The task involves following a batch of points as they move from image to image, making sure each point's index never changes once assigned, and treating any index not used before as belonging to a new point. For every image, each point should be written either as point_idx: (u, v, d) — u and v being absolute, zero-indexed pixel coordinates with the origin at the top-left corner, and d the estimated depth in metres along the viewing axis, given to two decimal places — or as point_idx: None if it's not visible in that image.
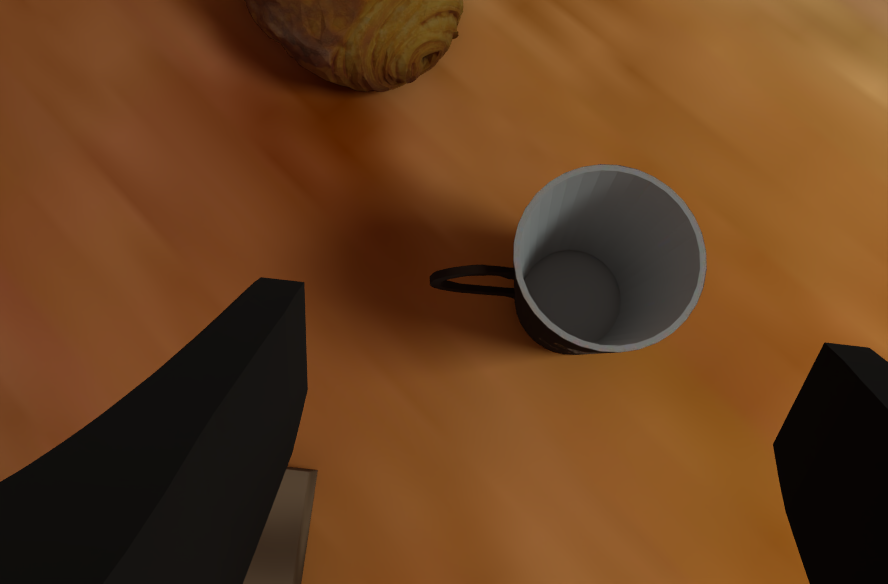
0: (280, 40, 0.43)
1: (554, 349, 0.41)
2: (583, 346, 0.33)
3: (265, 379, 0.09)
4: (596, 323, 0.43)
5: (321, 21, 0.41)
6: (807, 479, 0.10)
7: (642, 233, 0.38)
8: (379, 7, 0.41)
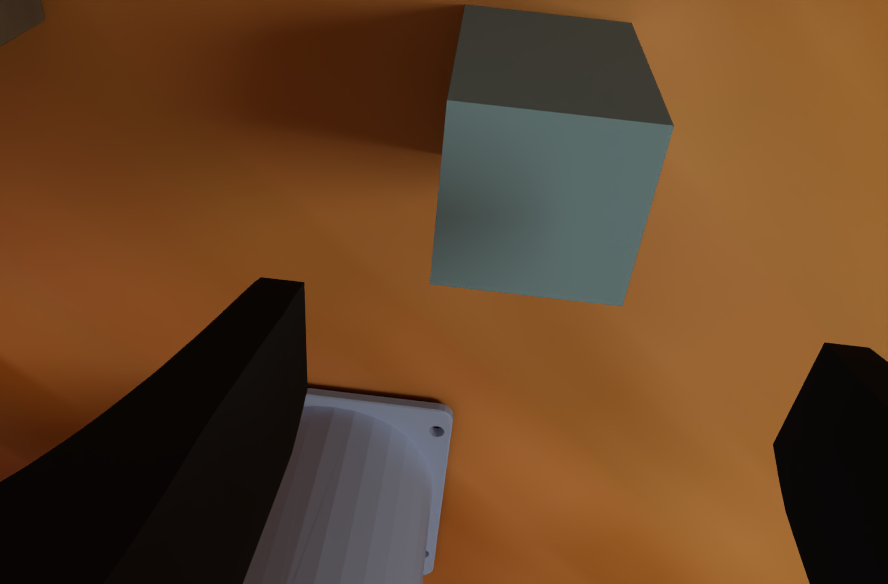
0: None
1: None
2: None
3: (265, 379, 0.09)
4: None
5: None
6: (807, 479, 0.10)
7: None
8: None
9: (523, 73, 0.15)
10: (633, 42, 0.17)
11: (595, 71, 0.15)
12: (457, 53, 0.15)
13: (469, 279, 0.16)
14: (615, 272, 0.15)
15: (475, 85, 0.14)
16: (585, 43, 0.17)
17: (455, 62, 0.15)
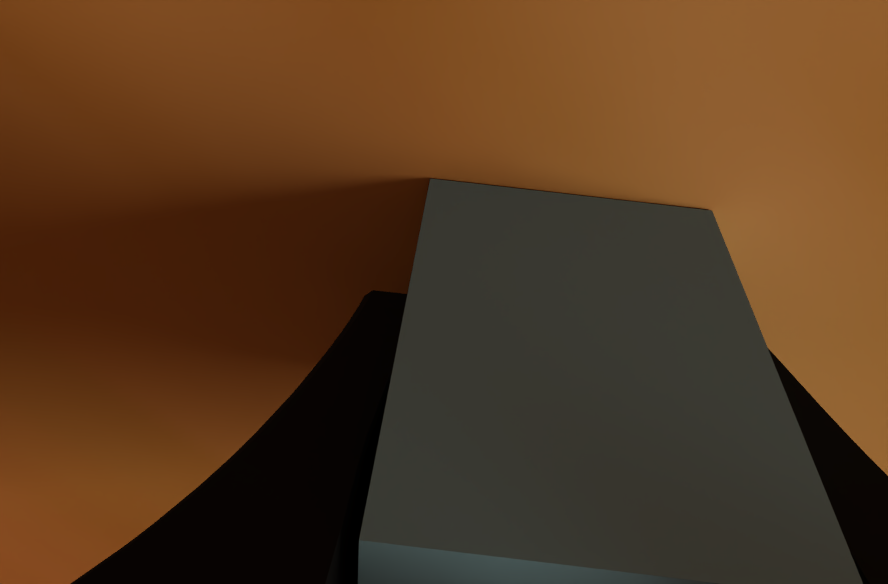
0: None
1: None
2: None
3: None
4: None
5: None
6: None
7: None
8: None
9: (530, 404, 0.07)
10: (724, 270, 0.10)
11: (670, 377, 0.08)
12: (401, 338, 0.08)
13: None
14: None
15: (427, 465, 0.07)
16: (641, 280, 0.09)
17: (394, 372, 0.08)
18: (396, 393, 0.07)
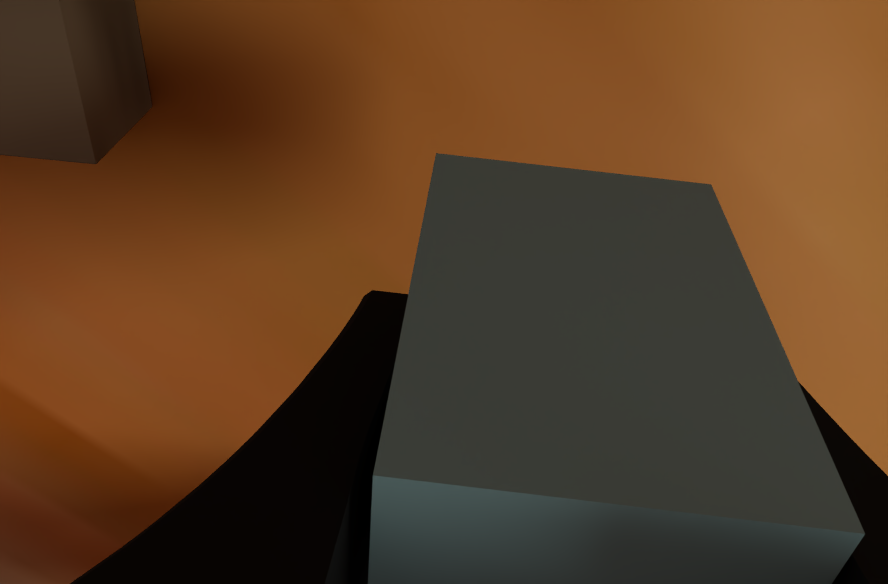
0: None
1: None
2: None
3: None
4: None
5: None
6: None
7: None
8: None
9: (536, 355, 0.08)
10: (724, 238, 0.10)
11: (671, 334, 0.08)
12: (411, 296, 0.08)
13: None
14: None
15: (438, 409, 0.07)
16: (642, 246, 0.09)
17: (404, 326, 0.08)
18: (406, 346, 0.08)
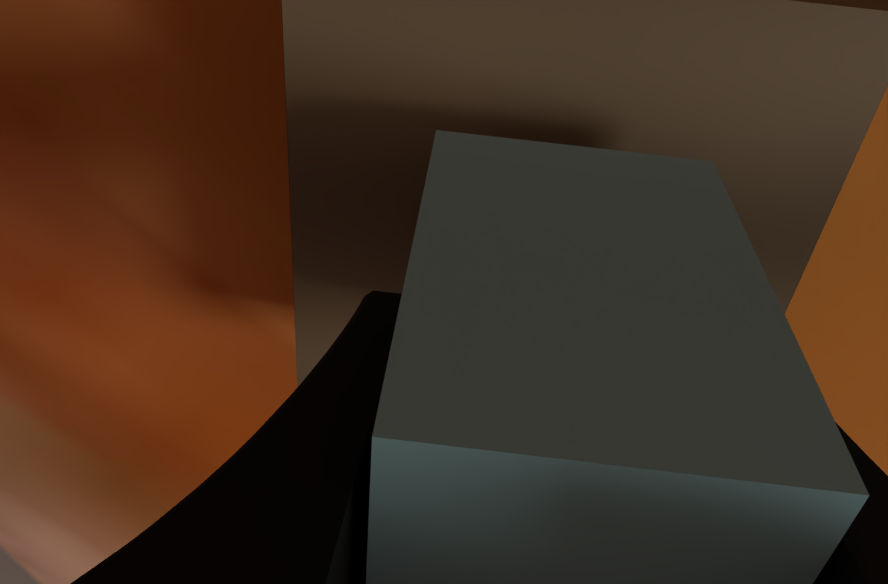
0: None
1: None
2: None
3: None
4: None
5: None
6: None
7: None
8: None
9: (537, 323, 0.07)
10: (725, 212, 0.10)
11: (672, 303, 0.08)
12: (410, 266, 0.08)
13: None
14: None
15: (438, 373, 0.07)
16: (643, 219, 0.09)
17: (404, 295, 0.08)
18: (406, 313, 0.07)
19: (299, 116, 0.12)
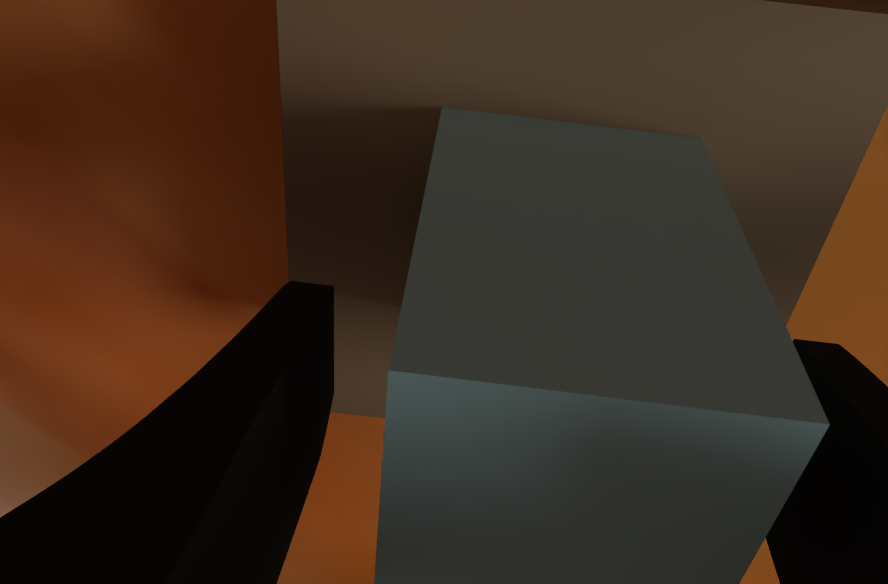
0: None
1: None
2: None
3: (299, 383, 0.09)
4: None
5: None
6: None
7: None
8: None
9: (535, 277, 0.08)
10: (711, 183, 0.10)
11: (660, 263, 0.09)
12: (420, 227, 0.09)
13: None
14: None
15: (446, 320, 0.08)
16: (636, 189, 0.10)
17: (414, 252, 0.08)
18: (416, 268, 0.08)
19: (294, 121, 0.12)
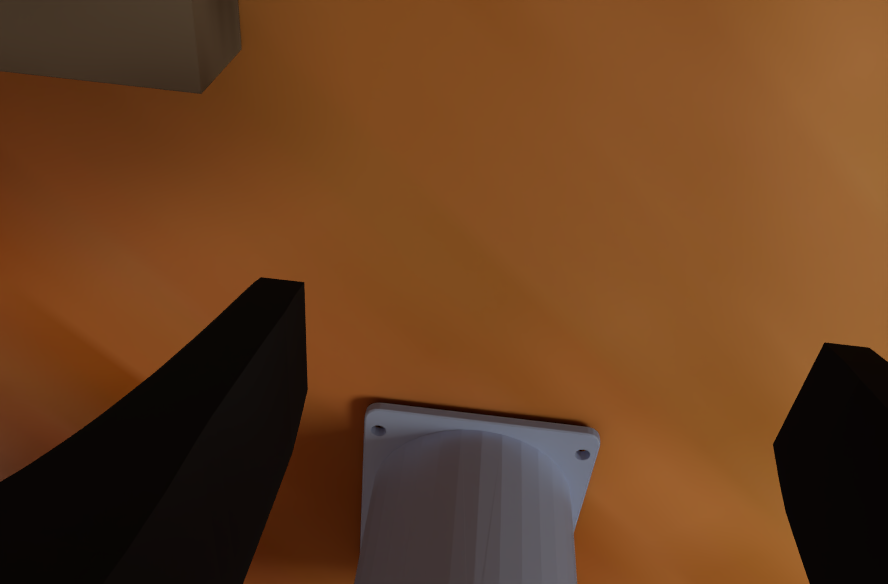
0: None
1: None
2: None
3: (265, 379, 0.09)
4: None
5: None
6: (807, 479, 0.10)
7: None
8: None
9: None
10: None
11: None
12: None
13: None
14: None
15: None
16: None
17: None
18: None
19: None
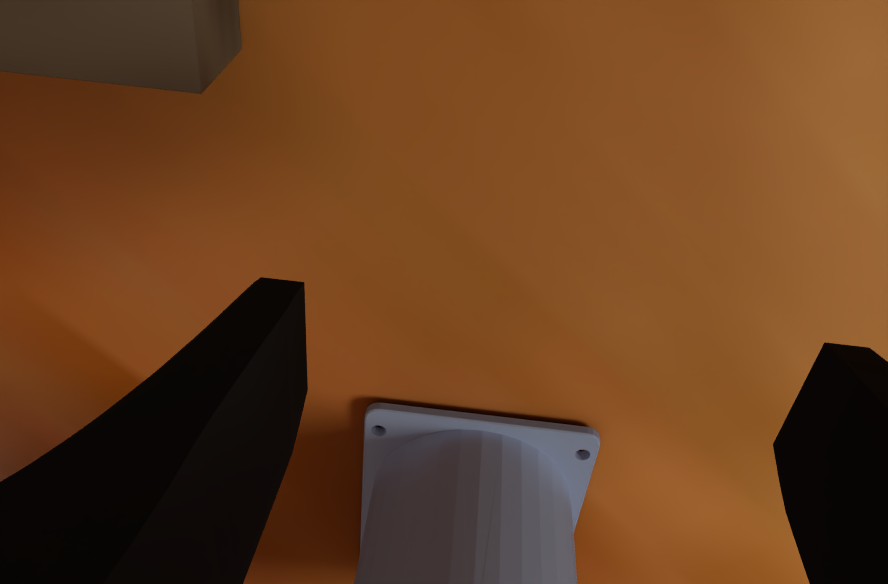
0: None
1: None
2: None
3: (265, 379, 0.09)
4: None
5: None
6: (807, 479, 0.10)
7: None
8: None
9: None
10: None
11: None
12: None
13: None
14: None
15: None
16: None
17: None
18: None
19: None
